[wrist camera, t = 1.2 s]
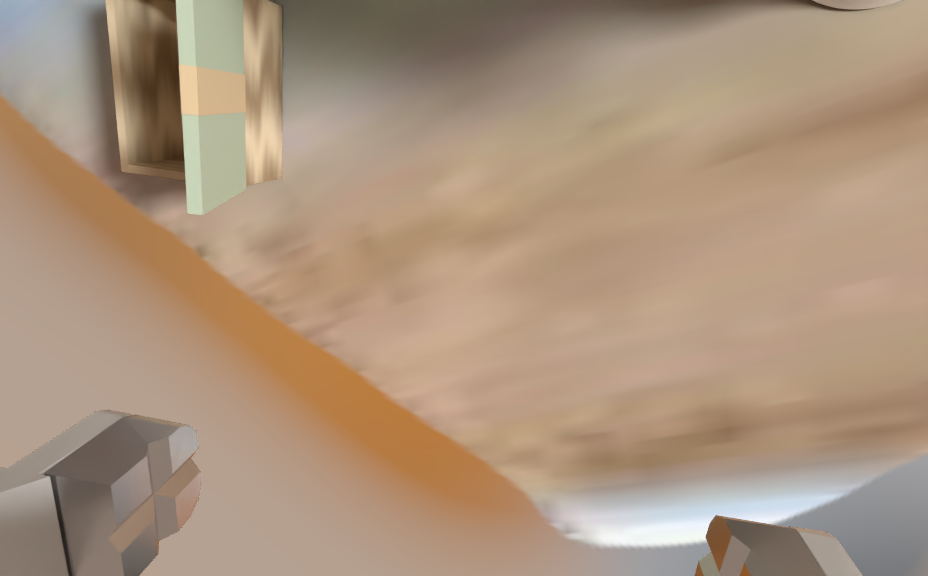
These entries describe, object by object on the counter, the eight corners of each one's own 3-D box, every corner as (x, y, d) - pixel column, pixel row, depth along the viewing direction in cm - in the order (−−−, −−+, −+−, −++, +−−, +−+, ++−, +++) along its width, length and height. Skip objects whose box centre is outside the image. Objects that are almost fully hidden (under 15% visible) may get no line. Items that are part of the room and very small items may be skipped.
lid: (172, -56, 25) (190, -53, 25) (229, -16, 34) (243, -14, 34) (187, 213, 29) (203, 215, 29) (234, 188, 38) (247, 189, 38)
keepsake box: (173, -5, 41) (102, -29, 35) (282, 6, 40) (231, -16, 34) (182, 163, 45) (121, 171, 39) (281, 177, 44) (236, 188, 38)
